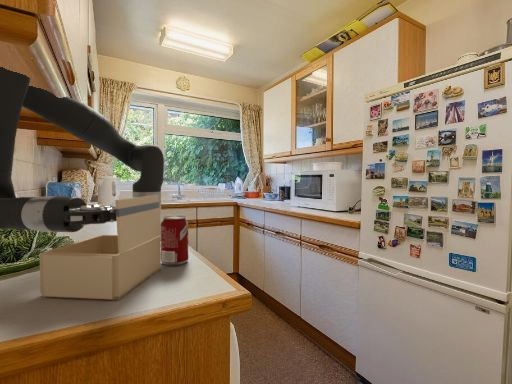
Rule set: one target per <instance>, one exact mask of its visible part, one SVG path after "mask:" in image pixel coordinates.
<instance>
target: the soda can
mask: <svg viewBox="0 0 512 384" xmlns="http://www.w3.org/2000/svg"><path fill="white" fill-rule="evenodd" d="M162 217H163V219H162V220H161V240H160V241H161V264H164V265H166V266H169V267H170V266H171V267H174V266H175V267H176V266H182V265H184V264H185V263H186V262H188V261H189V222H188V220H187V219H186V218H187V217H186V215H183V214H182V215H178V214H177V215H175V214H174V215H172V214H171V215H165V216H162Z"/></svg>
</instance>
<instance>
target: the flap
mask: <svg viewBox="0 0 512 384" xmlns="http://www.w3.org/2000/svg"><path fill="white" fill-rule="evenodd" d="M114 201H115V202H114V203H115V207H116V220H117V221H116V233H117V234H116V235H117V236H118V251H119V253H123V252H125V251H127V250H130V249H132V248H134V247H136V246H138V245H140V244H143V243H145V242H147V241H149V240H151V239H154V238H156V237H158V236H160V235H161V228H160V211H159V195H154V196H145V197H137V198H133V197H129V198H121V199H115V200H114Z"/></svg>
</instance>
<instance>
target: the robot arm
mask: <svg viewBox="0 0 512 384" xmlns="http://www.w3.org/2000/svg"><path fill="white" fill-rule="evenodd" d="M31 78H32V77H31ZM31 78H29V77H27V76H26V75H23V74H20V73H17V72H13V71H10V70H7V69H5V68H3V67H0V230H20V231H37V232H45V233H47V232H50V233H75V232H76V233H77V232H79V231H81V230H82V229H83V228H84V226H88V225H103V224H106V223H109V222H110V223H114V222H117V220H116V205H115V206H114V205H99V204H89V205H87V203H86V201H85V200H84V199H83V198H81V197H79V196H68V195H67V196H63V195H61V196H59V195H53V196H52V195H51V196H49V195H45V196H36V197H35V196H19V197H17V196H16V192H15V189H14V188H15V187H14V184H13V179H12V174H13V173H12V172H13V166H14V165H13V164H14V156H15V155H14V154H15V153H14V152H15V146H16V145H15V144H16V136H17V131H18V126H19V121H20V116H21V113H22V108H24V109H27V110H29V111H30V112H33V113H34V114H36V115H37V116H40V117H41V118H43V119H45V120H46V121H48V122H49V123H50V124H53V125H55V126H56V127H58V128H60V129H61V130H64V131H66V132H67V133H68V134H71V135H72V136H74V137H76V138H77V139H79V140H80V141H83V142H85V143H87V144H90V145H91V146H93V147H94V148H97V149H99V150H100V151H102V152H104V153H106V154H109V155H111V156H112V157H114V158H116V159H117V160H118V161H120V162H121V163H123V165H125V166H127V167H128V168H130V169H131V170H133V171H135V172H139V173H140V177H139V178H138V180H137V181H135V182H134V183H133V184H132V198H137V197H145V196H154V195H159V211H160V228H161V223H162V186H163V184H164V175H165V174H164V173H165V157H164V154H163V151H162V149H161V148H160V147H159V146H158V145H153V144H148V145H147V144H146V145H138V144H136V143H133V142H132V141H130V140H127V139H126V138H124V137H123V136H122V135H121V134H120V133H119V132H118V130H117V129H116V127H115V126H114V124H113V123H112V122H111V121H110V120H109V119H108V118H107V117H106V116H104V115H103V114H102V113H100V112H98V111H97V110H96V109H94V108H93V107H91V106H89V105H87V104H86V103H84V102H81V101H80V100H77V99H74V98H72V97H71V96H67V95H65V96H66V97H63V98H58V97H56V96H55V95H54V94H53V93H51V92H49V91H47V90H44V89H41V88H36V87H33V86H29V83H30V80H31ZM160 241H161V235H160Z"/></svg>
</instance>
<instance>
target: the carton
mask: <svg viewBox="0 0 512 384" xmlns="http://www.w3.org/2000/svg"><path fill="white" fill-rule="evenodd" d="M38 256H39V283H40V284H39V286H40V294H41V297H42V298H43V297H44V298H61V299H84V300H85V299H86V300H103V301H104V300H105V301H107V300H109V301H120V300H121V299H123V298H124V297H125V296H127V295H128V294H130V293H131V292H132V291H133V290H135V289H136V288H138V287H140V285H142V284H143V283H144V282H146V281H147V280H148V279H150V278H151V277H152V276H154V275H155V274H157V273H158V272H159V271H161V270H162V269H161V267H162V266H161V264H162V262H161V240H160V236H158V237H156V238H154V239H151V240H149V241H147V242H145V243H143V244H140V245H138V246H136V247H134V248H132V249H130V250H127V251H125V252H123V253H119V251H118V236H117V234H100V235H96V236H93V237H89V238H86V239H82V240H80V241H79V240H78V241H76V242H73V243H69V244H65V245H63V246H59V247H56V248H52V249H49V250H47V251H43V252H40V253H39V255H38Z"/></svg>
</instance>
